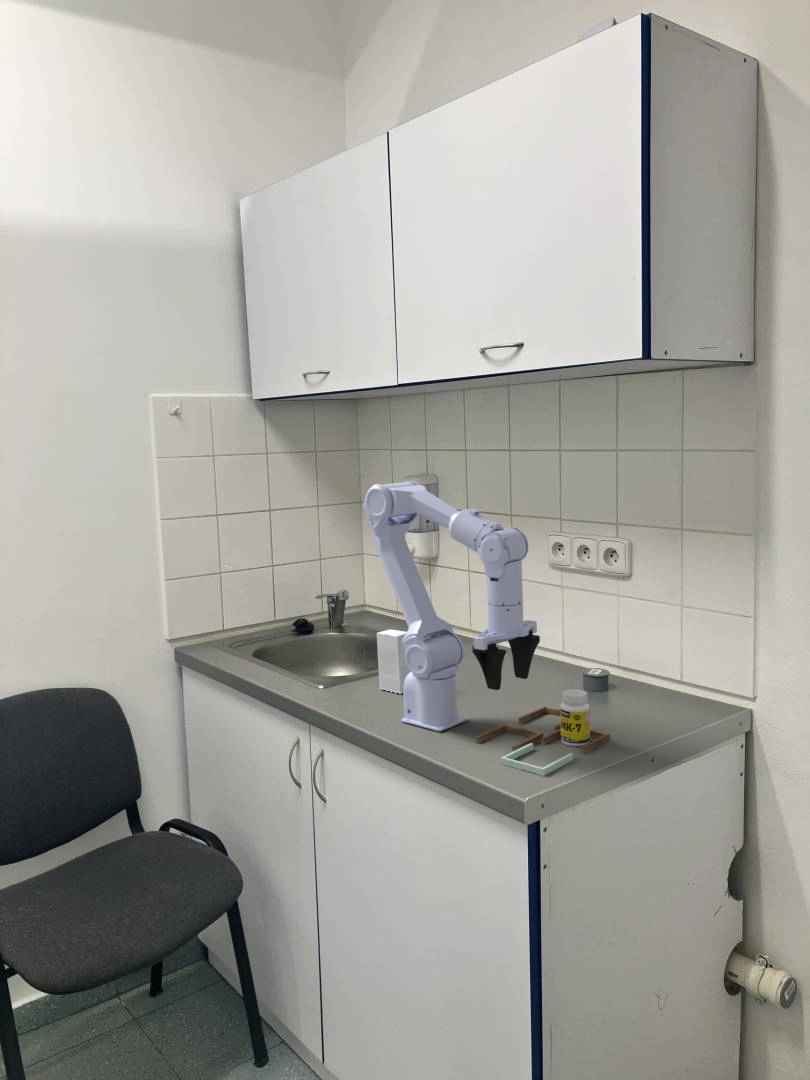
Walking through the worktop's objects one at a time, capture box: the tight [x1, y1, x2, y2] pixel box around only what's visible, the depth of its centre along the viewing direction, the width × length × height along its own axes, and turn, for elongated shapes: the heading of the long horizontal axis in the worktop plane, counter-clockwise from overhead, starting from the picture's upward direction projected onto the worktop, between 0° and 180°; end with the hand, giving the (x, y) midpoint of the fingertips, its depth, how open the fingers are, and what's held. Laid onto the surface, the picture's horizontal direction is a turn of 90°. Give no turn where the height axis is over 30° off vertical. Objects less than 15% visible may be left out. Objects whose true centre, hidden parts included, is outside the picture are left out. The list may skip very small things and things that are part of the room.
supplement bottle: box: [559, 688, 591, 747], centre depth 145 cm, size 5×5×8 cm
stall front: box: [540, 729, 611, 755], centre depth 146 cm, size 8×8×1 cm
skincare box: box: [376, 629, 411, 695], centre depth 179 cm, size 6×4×12 cm
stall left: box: [518, 705, 561, 731], centre depth 156 cm, size 8×8×1 cm
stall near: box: [475, 723, 544, 752], centre depth 147 cm, size 8×8×1 cm
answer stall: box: [500, 743, 574, 777], centre depth 138 cm, size 8×8×1 cm
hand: (507, 683), depth 146 cm, fingers open, 7 cm apart
